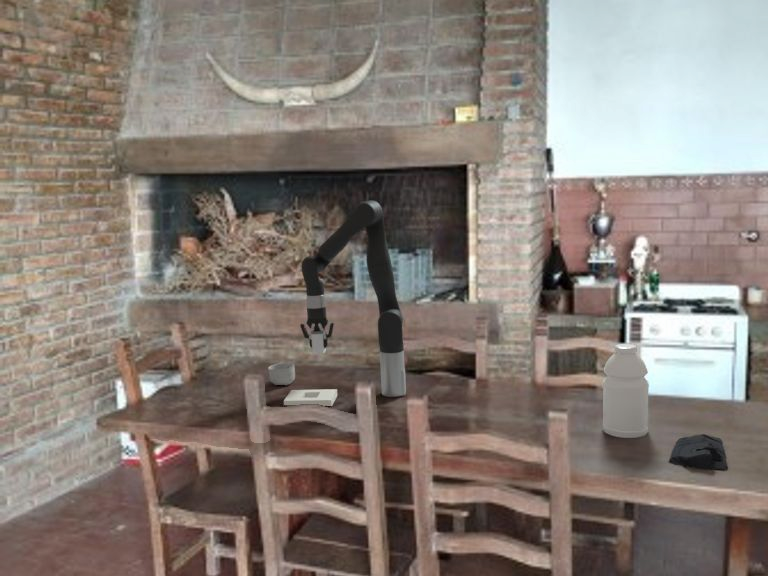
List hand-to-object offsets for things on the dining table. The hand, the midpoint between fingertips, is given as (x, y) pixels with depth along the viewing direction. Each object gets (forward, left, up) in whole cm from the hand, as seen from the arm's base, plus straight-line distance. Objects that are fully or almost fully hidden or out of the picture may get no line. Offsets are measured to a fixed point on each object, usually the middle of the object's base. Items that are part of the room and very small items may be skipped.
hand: (318, 347), depth 300 cm
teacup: (+18, -10, -17) cm, 27 cm away
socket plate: (+1, +16, -17) cm, 23 cm away
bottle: (-108, +53, -17) cm, 121 cm away
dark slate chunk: (-124, +73, -18) cm, 146 cm away
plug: (0, 0, -2) cm, 2 cm away
